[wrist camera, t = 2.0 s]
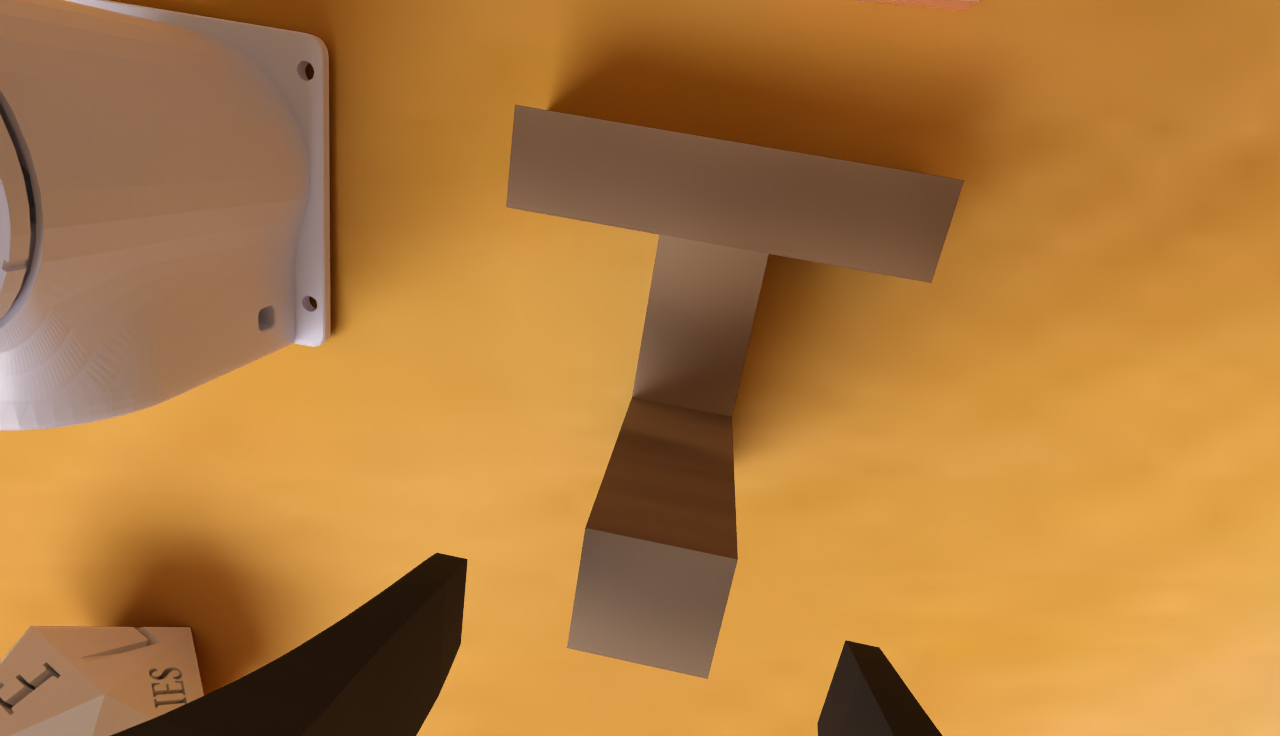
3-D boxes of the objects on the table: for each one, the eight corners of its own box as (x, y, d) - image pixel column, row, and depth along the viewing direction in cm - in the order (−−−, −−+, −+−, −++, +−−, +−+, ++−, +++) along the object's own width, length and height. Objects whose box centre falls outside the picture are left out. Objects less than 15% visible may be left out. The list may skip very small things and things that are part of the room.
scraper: (830, 496, 21) (900, 721, 13) (513, 433, 22) (385, 608, 14) (925, 175, 18) (1108, 198, 10) (546, 111, 19) (400, 79, 10)
